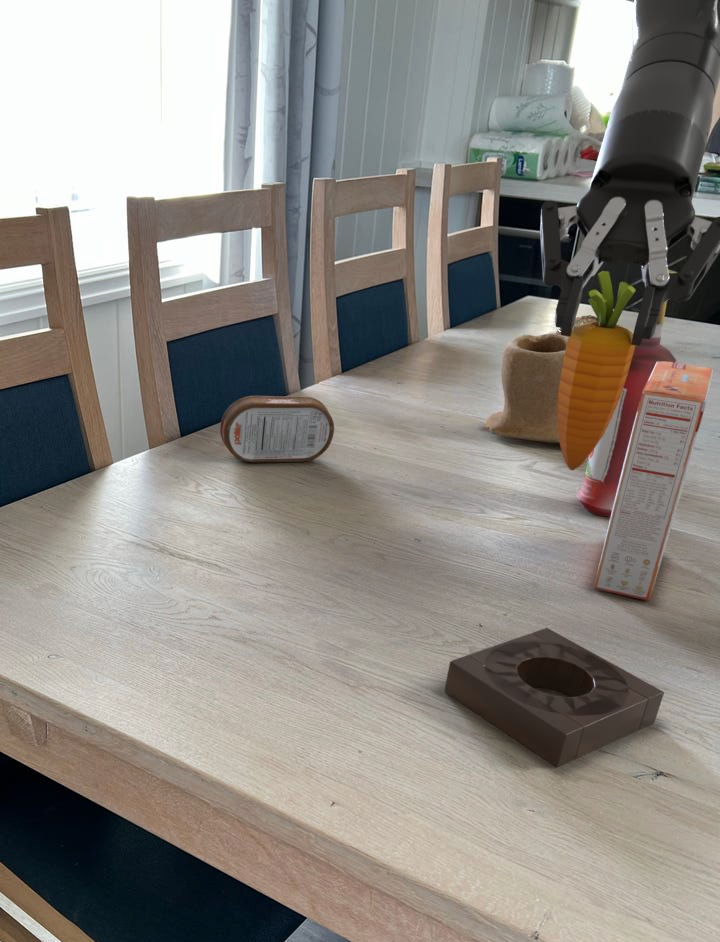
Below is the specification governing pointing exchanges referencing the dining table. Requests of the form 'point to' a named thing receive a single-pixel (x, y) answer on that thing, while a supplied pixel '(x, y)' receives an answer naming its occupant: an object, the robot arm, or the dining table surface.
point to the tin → (277, 429)
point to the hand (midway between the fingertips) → (601, 333)
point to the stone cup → (530, 388)
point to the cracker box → (652, 478)
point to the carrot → (593, 373)
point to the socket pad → (548, 716)
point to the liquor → (621, 426)
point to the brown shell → (581, 322)
